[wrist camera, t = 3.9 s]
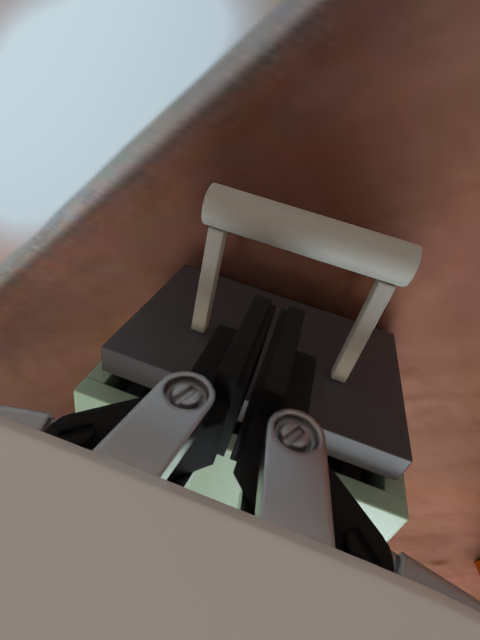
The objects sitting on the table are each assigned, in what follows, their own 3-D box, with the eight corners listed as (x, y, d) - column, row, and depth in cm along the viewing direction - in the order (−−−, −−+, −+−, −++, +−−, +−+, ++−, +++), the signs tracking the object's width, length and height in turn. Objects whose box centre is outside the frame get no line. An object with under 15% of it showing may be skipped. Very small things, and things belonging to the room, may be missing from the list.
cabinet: (178, 280, 21) (72, 389, 13) (389, 352, 20) (409, 520, 12) (156, 442, 30) (85, 565, 22) (302, 499, 29) (280, 652, 21)
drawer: (202, 147, 16) (99, 181, 10) (458, 222, 15) (533, 317, 9) (161, 432, 28) (102, 533, 21) (304, 487, 26) (287, 612, 20)
